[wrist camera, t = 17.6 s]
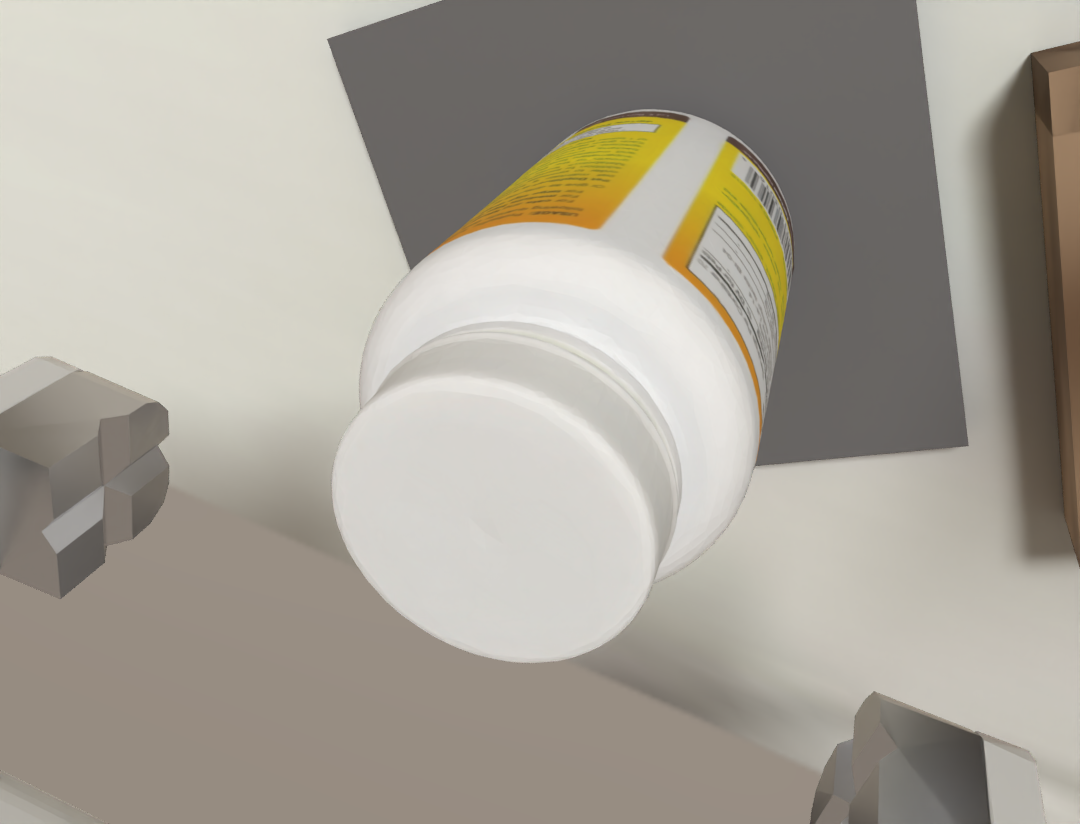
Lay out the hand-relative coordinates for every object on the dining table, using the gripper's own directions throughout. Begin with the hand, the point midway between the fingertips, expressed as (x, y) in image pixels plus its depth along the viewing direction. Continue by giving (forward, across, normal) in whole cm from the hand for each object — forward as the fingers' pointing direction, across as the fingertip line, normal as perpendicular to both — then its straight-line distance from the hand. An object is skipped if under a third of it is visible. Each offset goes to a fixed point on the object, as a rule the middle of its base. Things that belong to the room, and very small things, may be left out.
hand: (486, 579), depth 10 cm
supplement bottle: (+11, 0, 0) cm, 11 cm away
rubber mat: (+11, +1, 0) cm, 11 cm away
